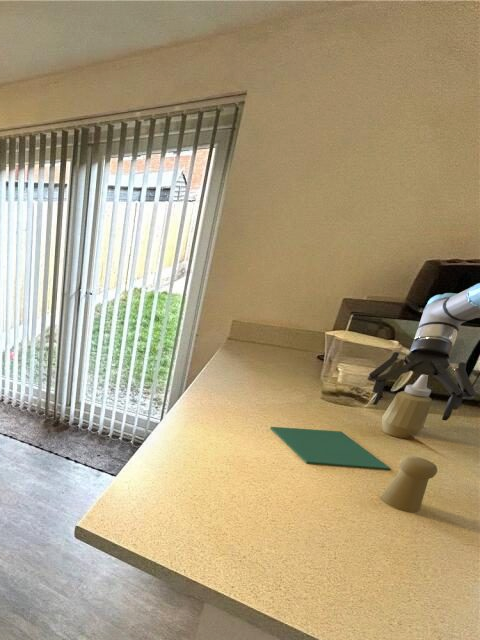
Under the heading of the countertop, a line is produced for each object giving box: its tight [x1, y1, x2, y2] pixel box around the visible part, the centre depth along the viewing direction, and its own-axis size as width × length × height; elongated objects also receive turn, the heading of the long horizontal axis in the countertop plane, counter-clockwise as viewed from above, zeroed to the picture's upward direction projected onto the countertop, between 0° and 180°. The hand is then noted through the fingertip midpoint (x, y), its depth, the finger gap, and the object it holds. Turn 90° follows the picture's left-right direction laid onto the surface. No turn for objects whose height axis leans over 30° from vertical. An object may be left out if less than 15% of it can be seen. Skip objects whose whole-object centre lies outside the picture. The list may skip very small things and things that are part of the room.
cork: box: [379, 455, 438, 513], centre depth 83 cm, size 6×6×11 cm
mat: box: [270, 426, 391, 471], centre depth 105 cm, size 18×18×1 cm
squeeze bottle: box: [381, 374, 433, 439], centre depth 107 cm, size 8×8×18 cm
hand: (409, 410), depth 106 cm, fingers open, 12 cm apart
